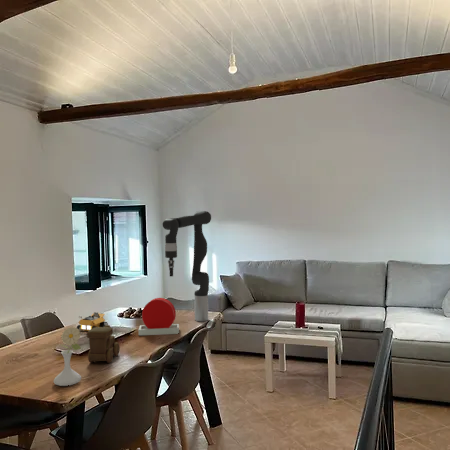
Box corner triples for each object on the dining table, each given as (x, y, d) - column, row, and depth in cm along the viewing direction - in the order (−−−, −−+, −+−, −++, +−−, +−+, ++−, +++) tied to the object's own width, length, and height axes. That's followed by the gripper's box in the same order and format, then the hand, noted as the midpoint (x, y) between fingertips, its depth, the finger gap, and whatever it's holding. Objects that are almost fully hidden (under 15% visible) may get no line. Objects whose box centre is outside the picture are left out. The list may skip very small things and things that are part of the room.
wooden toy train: (108, 366, 212) (107, 332, 212) (85, 366, 213) (84, 332, 213) (121, 353, 232) (120, 322, 232) (100, 353, 233) (99, 322, 233)
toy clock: (176, 329, 276) (175, 297, 275) (174, 332, 270) (173, 299, 269) (144, 329, 277) (144, 297, 277) (142, 331, 271) (141, 299, 271)
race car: (75, 332, 277) (74, 315, 277) (90, 326, 291) (89, 310, 291) (94, 334, 272) (94, 317, 272) (109, 328, 286) (108, 312, 286)
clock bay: (139, 331, 277) (139, 325, 277) (178, 329, 280) (178, 323, 280) (138, 335, 267) (138, 329, 267) (179, 333, 270) (179, 328, 270)
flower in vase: (47, 386, 188) (46, 328, 187) (66, 377, 198) (65, 322, 198) (72, 390, 183) (71, 330, 183) (90, 380, 194) (89, 324, 193)
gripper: (177, 250, 275) (177, 276, 275) (176, 249, 289) (177, 273, 289) (164, 251, 274) (165, 277, 274) (165, 249, 288) (165, 274, 288)
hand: (171, 275), depth 282 cm, fingers open, 8 cm apart
